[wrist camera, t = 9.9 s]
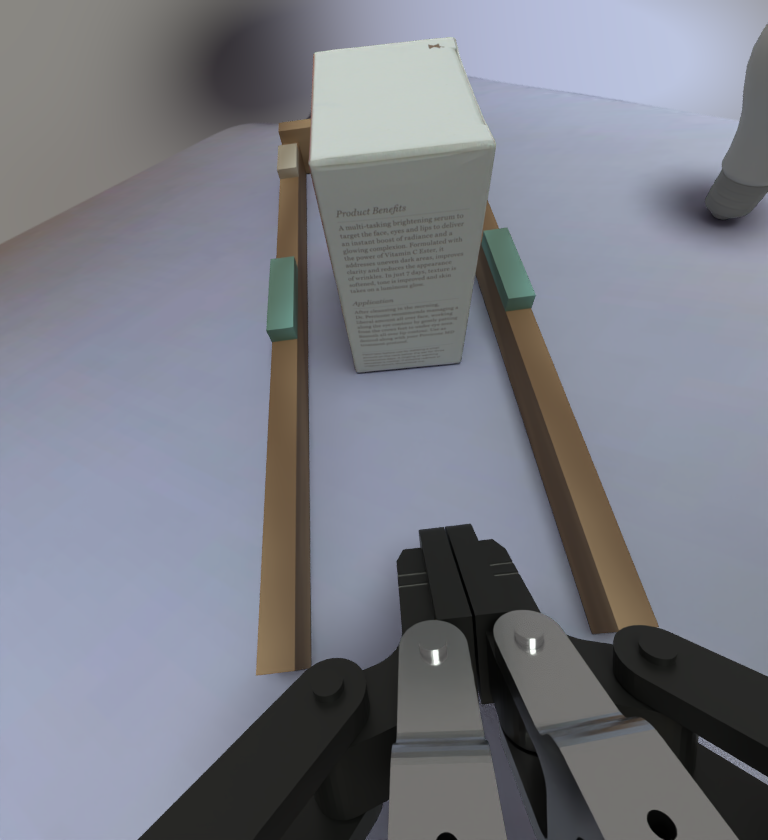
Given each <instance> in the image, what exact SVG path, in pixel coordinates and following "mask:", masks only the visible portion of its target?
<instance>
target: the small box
mask: <svg viewBox="0 0 768 840" xmlns="http://www.w3.org/2000/svg"><path fill="white" fill-rule="evenodd" d="M495 149H496V142H495V140H494V138H493V136H492V134H491V132H490V130H489V127H488V126H487V124H486V122H485V120H484V118H483V115H482V113H481V110H480V108H479V105H478V103H477V101H476V98H475V96H474V93H473V90H472V88H471V85H470V83H469V80H468V78H467V75H466V72H465V70H464V67H463V64H462V61H461V58H460V55H459V52H458V47H457V43H456V39H455V38H452V37H447V38H436V39H426V40H418V41H409V42H400V43H391V44H382V45H373V46H365V47H356V48H346V49H337V50H329V51H324V52H316V53H314V56H313V79H312V105H311V128H310V151H309V168H310V173H311V177H312V182H313V186H314V190H315V195H316V199H317V203H318V208H319V212H320V216H321V221H322V225H323V229H324V234H325V238H326V243H327V247H328V252H329V256H330V260H331V264H332V268H333V272H334V277H335V280H336V284H337V289H338V293H339V298H340V303H341V308H342V312H343V317H344V321H345V325H346V330H347V334H348V338H349V342H350V346H351V351H352V355H353V360H354V365H355V370H356V372H358V373H360V372H369V371H379V370H390V369H400V368H410V367H421V366H431V365H442V364H454V363H460V362H461V360H462V352H463V347H464V340H465V335H466V328H467V322H468V316H469V309H470V303H471V296H472V291H473V285H474V279H475V273H476V267H477V260H478V254H479V249H480V243H481V236H482V230H483V224H484V217H485V211H486V205H487V199H488V193H489V187H490V181H491V175H492V168H493V162H494V156H495Z"/></svg>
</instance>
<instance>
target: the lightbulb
mask: <svg viewBox="0 0 768 840" xmlns="http://www.w3.org/2000/svg"><path fill="white" fill-rule="evenodd" d="M767 192H768V24H767V25H766V27H765V28H764V30H763V31H762V33H761V35H760V37H759V38H758V40H757V42H756V44H755V45H754V47H753V50H752V53H751V56H750V59H749V61H748V64H747V70H746V76H745V83H744V91H743V107H742V113H741V117H740V121H739V125H738V129H737V132H736V134H735V136H734V139H733V141H732V144H731V146H730V148H729V150H728V152H727V153H726V155H725V157H724V159H723V161H722V170H721V172H720V174H719V176H718V177H717V178H716V180H715V182H714V184H713V186H712V187H711V189H710V192H709V193H708V195H707V197H706V199H705V204H706V207H707V208H708V209H709V211H711V212H712V215H713V216H714V217H715V218H718V219H722V220H725V219H729V218H738V217H742V216H745V215H747V214H749V213H750V212H751V211H752V210H753V209H754V208H755V207H756V206H757V204H758V203H759V202H760V200H762V199H763V197H764V196H765V194H766V193H767Z"/></svg>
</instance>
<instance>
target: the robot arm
mask: <svg viewBox="0 0 768 840" xmlns="http://www.w3.org/2000/svg"><path fill="white" fill-rule="evenodd" d="M419 539H420V548H414V549H405V550H403V551H402V553H401V555H400V556H399V558H398V560H397V572H398V585H399V597H400V610H401V622H402V638H401V640H400V644H399V646H398V647H397V649H396V650H395V651H394V653H393V654H392V655H391V656H389V657H388V658H387V659H385V660H384V661H383V662H381V663H379V664H377V665H374V666H372V667H370V668H367V669H365V670H363V671H362V669H361V668H360V667H359V666H358V665H357V664H355V663H354V662H352V661H350V660H347V659H343V658H332V659H327V660H324V661H321V662H319V663H317V664H315V665H313V666H312V667H310V668H309V669H308V670H306V671H305V672H304V673H303V674H302V675H301V676H300V677H299V678H298V679H297V680H296V681H295V682H294V683H293V684H292V685H291V686H290V687H289V688H288V689H287V690H286V691H285V692H284V693H283V694H282V695H281V696H280V697H279V698H278V699H277V700H276V701H275V702H274V703H273V704H272V705H271V706H270V707H269V708H268V709H267V710H266V711H265V712H264V713H263V714H262V715H261V716H260V717H259V718H258V719H257V720H256V721H255V722H254V723H253V724H252V725H251V726H250V727H249V728H248V729H247V730H246V731H245V732H244V733H243V734H242V735H241V736H240V737H239V738H238V739H237V740H236V741H235V742H234V743H233V744H232V745H231V746H230V747H229V748H228V749H227V751H226V752H225V753H224V754H223V755H222V756H221V757H220V758H219V759H218V760H217V761H216V762H215V763H214V764H213V765H212V766H211V767H210V768H209V769H208V770H207V771H206V772H205V773H204V774H203V775H202V776H201V777H200V778H199V779H198V780H197V781H196V782H195V783H194V784H193V785H192V786H191V787H190V788H189V789H188V790H187V791H186V792H185V793H184V794H183V795H182V796H181V797H180V798H179V799H178V800H177V801H176V802H175V803H174V804H173V805H172V806H171V807H170V808H169V809H168V810H167V811H166V812H165V813H164V814H163V815H162V816H161V817H160V818H159V819H158V820H157V821H156V822H155V823H154V824H153V825H152V826H151V827H150V828H149V829H148V830H147V831H146V832H145V833H144V834H143V835H142V836H141V837H140V838H139V839H138V840H365V839H366V837H367V835H368V834H369V832H370V830H371V829H372V827H373V825H374V824H375V822H376V820H377V818H378V816H379V814H380V812H381V809H382V806H383V803H384V802H386V801H387V800H389V822H388V840H507V836H506V831H505V826H504V821H503V815H502V810H501V805H500V799H499V794H498V789H497V783H496V778H495V773H494V767H493V762H492V757H491V752H490V748H489V744H488V741H487V740H485V736H484V731H483V726H482V720H481V715H480V709H479V700H478V692H479V695H480V699H481V703H482V704H489V703H494V704H495V708H496V711H497V714H498V718H499V731H500V740H501V743H502V746H503V749H504V752H505V755H506V757H507V760H508V763H509V765H510V768H511V771H512V774H513V776H514V779H515V782H516V785H517V787H518V790H519V793H520V795H521V798H522V801H523V804H524V806H525V809H526V812H527V815H528V817H529V820H530V823H531V826H532V828H533V831H534V834H535V836H536V839H537V840H768V785H767V784H765V783H763V782H762V781H760V780H758V779H757V778H755V777H753V776H752V775H750V774H749V773H747V772H745V771H744V770H742V769H740V768H739V767H737V766H735V765H734V764H732V763H730V762H729V761H727V760H726V759H724V758H722V757H721V756H719V755H717V754H716V753H714V752H712V751H711V750H709V749H707V748H706V747H704V746H702V745H701V744H699V743H698V738H699V736H700V737H702V738H704V739H705V740H707V741H709V742H710V743H712V744H714V745H715V746H717V747H719V748H720V749H722V750H724V751H725V752H727V753H729V754H730V755H732V756H734V757H735V758H737V759H739V760H740V761H742V762H744V763H746V764H747V765H749V766H751V767H752V768H754V769H756V770H757V771H759V772H761V773H762V774H764V775H766V776H767V777H768V677H767V676H765V675H763V674H761V673H759V672H756V671H754V670H752V669H750V668H748V667H745V666H743V665H741V664H739V663H737V662H734V661H732V660H730V659H728V658H726V657H723V656H721V655H719V654H717V653H715V652H712V651H710V650H708V649H706V648H704V647H701V646H699V645H697V644H695V643H693V642H690V641H688V640H686V639H684V638H682V637H679V636H677V635H675V634H673V633H671V632H668V631H666V630H663V629H660V628H657V627H652V626H647V625H632V626H627V627H624V628H622V629H621V630H619V631H618V632H617V633H616V635H615V636H614V640H613V644H607V643H600V642H593V641H587V640H581V639H577V638H574V637H571V636H569V635H566V634H565V632H564V631H563V630H562V628H561V627H560V626H559V625H558V624H557V623H556V622H555V621H554V620H552V619H551V618H549V617H548V616H546V615H544V614H541V612H540V611H539V609H538V607H537V605H536V603H535V602H534V600H533V598H532V596H531V594H530V592H529V591H528V589H527V587H526V585H525V583H524V582H523V580H522V578H521V576H520V574H518V571H517V569H516V567H515V565H514V564H513V563H512V560H511V558H510V556H509V554H508V553H507V551H506V549H505V548H504V547H502V546H501V545H500V544H498V543H497V542H495V541H494V540H493V539H489V540H481V541H478V538H477V536H476V534H475V532H474V530H473V527H472V525H471V524H464V525H455V526H447V527H445V529H444V527H439V528H431V529H422V530H419Z"/></svg>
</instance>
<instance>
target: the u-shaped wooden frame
mask: <svg viewBox="0 0 768 840" xmlns="http://www.w3.org/2000/svg"><path fill="white" fill-rule="evenodd" d="M310 128H311V119H305V120H297V121H290V122H283V123H279V135H280V139H281V142H282V145H280V146H278V163H277V171H278V174H279V178H280V195H279V215H278V236H277V256H276V259H271V262H270V278H269V295H268V312H267V329H266V331H267V333H268V335H269V337H270V339H271V341H272V359H271V379H270V400H269V420H268V441H267V462H266V482H265V503H264V523H263V544H262V564H261V585H260V605H259V626H258V646H257V667H256V675H265V674H273V673H281V672H290V671H297V670H303V669H308V668H310V667H311V595H310V497H309V399H308V301H307V203H306V174H308V173H310V168H309V151H310ZM475 274H476V277H477V280H478V283H479V286H480V289H481V292H482V295H483V298H484V301H485V305H486V308H487V311H488V314H489V317H490V320H491V323H492V326H493V329H494V332H495V335H496V338H497V342H498V345H499V348H500V351H501V354H502V357H503V360H504V363H505V366H506V369H507V372H508V375H509V379H510V382H511V385H512V388H513V391H514V394H515V397H516V400H517V403H518V406H519V409H520V412H521V416H522V419H523V422H524V425H525V428H526V431H527V434H528V437H529V440H530V443H531V446H532V450H533V453H534V456H535V459H536V462H537V465H538V468H539V471H540V474H541V477H542V480H543V483H544V487H545V490H546V493H547V496H548V499H549V502H550V505H551V508H552V511H553V514H554V517H555V520H556V524H557V527H558V530H559V533H560V536H561V539H562V542H563V545H564V548H565V551H566V554H567V557H568V561H569V564H570V567H571V570H572V573H573V576H574V579H575V582H576V585H577V588H578V591H579V594H580V598H581V601H582V604H583V607H584V610H585V613H586V616H587V619H588V622H589V625H590V628H591V632H592V634H600V633H611V632H618V631H619V630H621V629H622V628H624V627H627V626H632V625H647V626H652V627H659V626H658V623H657V621H656V618H655V616H654V613H653V611H652V608H651V606H650V603H649V601H648V598H647V596H646V593H645V591H644V588H643V586H642V583H641V581H640V578H639V576H638V573H637V571H636V568H635V566H634V563H633V561H632V558H631V556H630V553H629V551H628V549H627V546H626V544H625V541H624V539H623V536H622V534H621V531H620V529H619V526H618V524H617V521H616V519H615V516H614V514H613V511H612V509H611V506H610V504H609V501H608V499H607V496H606V494H605V491H604V489H603V486H602V484H601V481H600V479H599V476H598V474H597V471H596V469H595V466H594V464H593V461H592V459H591V456H590V454H589V451H588V449H587V446H586V444H585V441H584V439H583V436H582V434H581V432H580V429H579V427H578V424H577V422H576V419H575V417H574V414H573V412H572V409H571V407H570V404H569V402H568V399H567V397H566V394H565V392H564V389H563V387H562V384H561V382H560V379H559V377H558V374H557V372H556V369H555V367H554V364H553V362H552V359H551V357H550V354H549V352H548V349H547V347H546V344H545V342H544V339H543V337H542V334H541V332H540V329H539V327H538V324H537V322H536V319H535V317H534V315H533V312H532V310H531V308H532V305H533V302H534V299H535V296H536V295H535V292H534V290H533V288H532V285H531V283H530V280H529V278H528V276H527V273H526V271H525V269H524V266H523V264H522V261H521V259H520V257H519V254H518V252H517V249H516V247H515V245H514V242H513V240H512V238H511V235H510V233H509V230H508V228H501V229H499V227H498V225H497V222H496V220H495V217H494V215H493V212H492V210H491V207H490V205H489V203H488V200H487V205H486V211H485V217H484V224H483V230H482V236H481V243H480V249H479V254H478V260H477V267H476V273H475Z"/></svg>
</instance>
